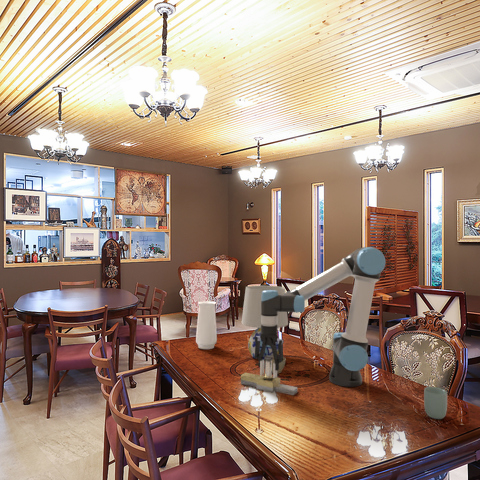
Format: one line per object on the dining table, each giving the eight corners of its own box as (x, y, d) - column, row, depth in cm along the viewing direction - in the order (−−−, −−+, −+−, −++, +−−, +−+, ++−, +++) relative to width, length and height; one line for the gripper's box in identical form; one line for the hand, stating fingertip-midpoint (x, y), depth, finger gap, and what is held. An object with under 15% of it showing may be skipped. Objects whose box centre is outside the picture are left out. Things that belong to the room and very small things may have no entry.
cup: (426, 410, 150) (427, 385, 151) (449, 416, 146) (449, 390, 146) (421, 417, 144) (421, 390, 145) (444, 423, 140) (444, 396, 140)
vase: (194, 345, 245) (194, 301, 245) (213, 344, 249) (214, 300, 249) (198, 350, 232) (198, 304, 233) (218, 349, 236) (219, 303, 237)
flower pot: (284, 376, 189) (285, 361, 189) (264, 374, 191) (265, 360, 191) (286, 369, 198) (286, 356, 199) (267, 368, 200) (267, 354, 201)
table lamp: (286, 365, 206) (287, 290, 207) (237, 361, 211) (238, 289, 212) (288, 351, 233) (289, 286, 234) (244, 349, 238) (245, 284, 238)
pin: (274, 387, 173) (274, 356, 174) (270, 390, 170) (270, 358, 170) (266, 385, 175) (266, 354, 175) (262, 388, 172) (262, 357, 172)
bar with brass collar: (298, 390, 170) (298, 381, 170) (292, 396, 163) (292, 387, 163) (247, 379, 182) (247, 371, 182) (238, 385, 175) (239, 376, 175)
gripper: (291, 325, 172) (291, 377, 171) (254, 321, 181) (253, 370, 180) (285, 328, 165) (284, 382, 165) (247, 323, 174) (246, 374, 174)
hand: (268, 375), depth 172 cm, fingers open, 6 cm apart
